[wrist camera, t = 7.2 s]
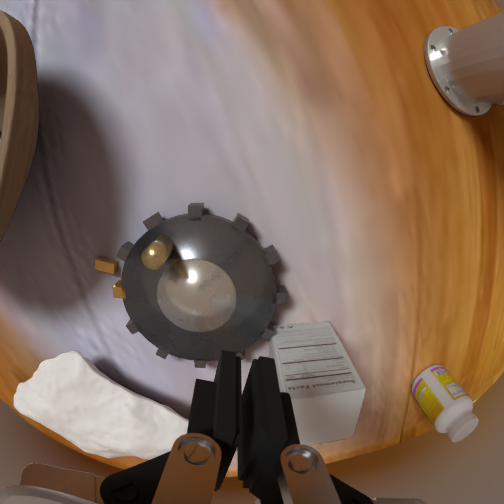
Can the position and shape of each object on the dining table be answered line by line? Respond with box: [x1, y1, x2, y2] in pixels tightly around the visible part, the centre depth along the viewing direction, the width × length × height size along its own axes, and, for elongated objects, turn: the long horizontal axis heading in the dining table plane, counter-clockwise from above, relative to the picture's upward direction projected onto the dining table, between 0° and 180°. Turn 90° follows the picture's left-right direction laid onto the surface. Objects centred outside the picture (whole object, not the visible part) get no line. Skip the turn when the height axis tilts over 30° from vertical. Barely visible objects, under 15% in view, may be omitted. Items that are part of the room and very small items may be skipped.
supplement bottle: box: [412, 365, 479, 442], centre depth 32 cm, size 7×7×13 cm
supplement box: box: [269, 321, 366, 445], centre depth 29 cm, size 7×7×13 cm
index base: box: [95, 257, 118, 274], centre depth 31 cm, size 14×5×1 cm, turn 77°
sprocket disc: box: [113, 203, 287, 368], centre depth 28 cm, size 18×18×6 cm
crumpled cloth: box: [14, 351, 189, 460], centre depth 33 cm, size 24×35×9 cm
